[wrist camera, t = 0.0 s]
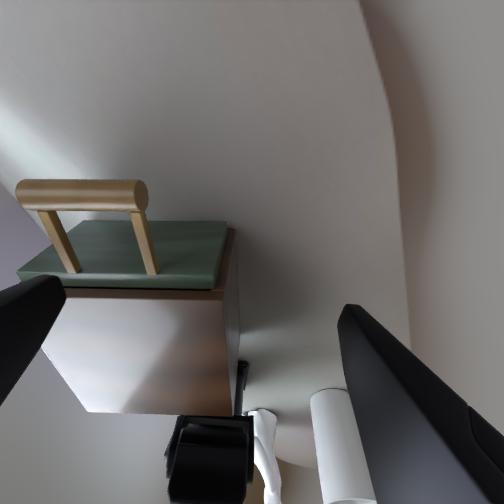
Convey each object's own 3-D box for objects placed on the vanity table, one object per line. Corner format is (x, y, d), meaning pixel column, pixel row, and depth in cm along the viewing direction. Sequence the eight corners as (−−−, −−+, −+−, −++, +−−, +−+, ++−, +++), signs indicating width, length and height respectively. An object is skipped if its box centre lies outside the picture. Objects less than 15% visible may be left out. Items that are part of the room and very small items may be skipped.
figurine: (281, 426, 44) (287, 525, 34) (236, 427, 45) (229, 524, 35) (279, 404, 40) (285, 510, 30) (229, 405, 41) (219, 509, 31)
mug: (311, 412, 41) (328, 517, 31) (303, 390, 38) (319, 500, 28) (376, 404, 39) (416, 513, 29) (374, 381, 36) (418, 495, 26)
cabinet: (87, 226, 24) (2, 296, 16) (235, 228, 23) (222, 300, 15) (130, 332, 32) (87, 412, 24) (240, 334, 31) (233, 417, 24)
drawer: (55, 149, 19) (-59, 184, 12) (222, 150, 19) (201, 186, 12) (126, 325, 30) (86, 395, 23) (233, 327, 29) (225, 399, 23)
